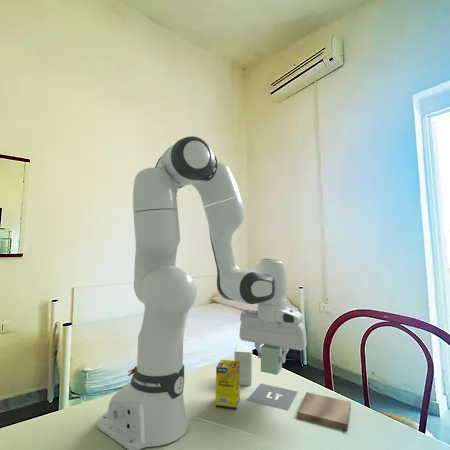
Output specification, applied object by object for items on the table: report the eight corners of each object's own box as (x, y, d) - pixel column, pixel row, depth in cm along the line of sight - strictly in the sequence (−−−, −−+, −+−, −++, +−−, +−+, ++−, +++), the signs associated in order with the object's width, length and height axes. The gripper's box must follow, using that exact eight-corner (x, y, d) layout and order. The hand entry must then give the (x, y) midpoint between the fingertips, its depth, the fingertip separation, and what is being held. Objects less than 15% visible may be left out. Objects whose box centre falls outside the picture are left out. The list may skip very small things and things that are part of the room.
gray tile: (246, 400, 85) (246, 399, 85) (260, 384, 96) (260, 383, 96) (287, 411, 80) (287, 410, 80) (297, 392, 90) (297, 391, 90)
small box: (236, 374, 103) (236, 343, 103) (252, 375, 102) (252, 344, 103) (233, 385, 95) (234, 351, 96) (251, 386, 94) (251, 352, 95)
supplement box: (236, 410, 80) (237, 368, 81) (215, 408, 81) (215, 366, 82) (240, 399, 85) (240, 360, 86) (219, 397, 87) (220, 359, 88)
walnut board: (297, 417, 76) (297, 411, 77) (306, 397, 87) (306, 392, 87) (347, 430, 71) (347, 424, 71) (350, 407, 82) (350, 401, 82)
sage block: (260, 371, 87) (260, 346, 88) (266, 365, 91) (266, 342, 92) (277, 375, 85) (277, 349, 85) (281, 369, 89) (282, 345, 90)
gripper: (236, 310, 91) (235, 356, 90) (303, 318, 82) (303, 370, 81) (244, 307, 97) (243, 351, 96) (307, 314, 88) (307, 363, 87)
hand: (271, 360), depth 88 cm, fingers closed on sage block, 5 cm apart
